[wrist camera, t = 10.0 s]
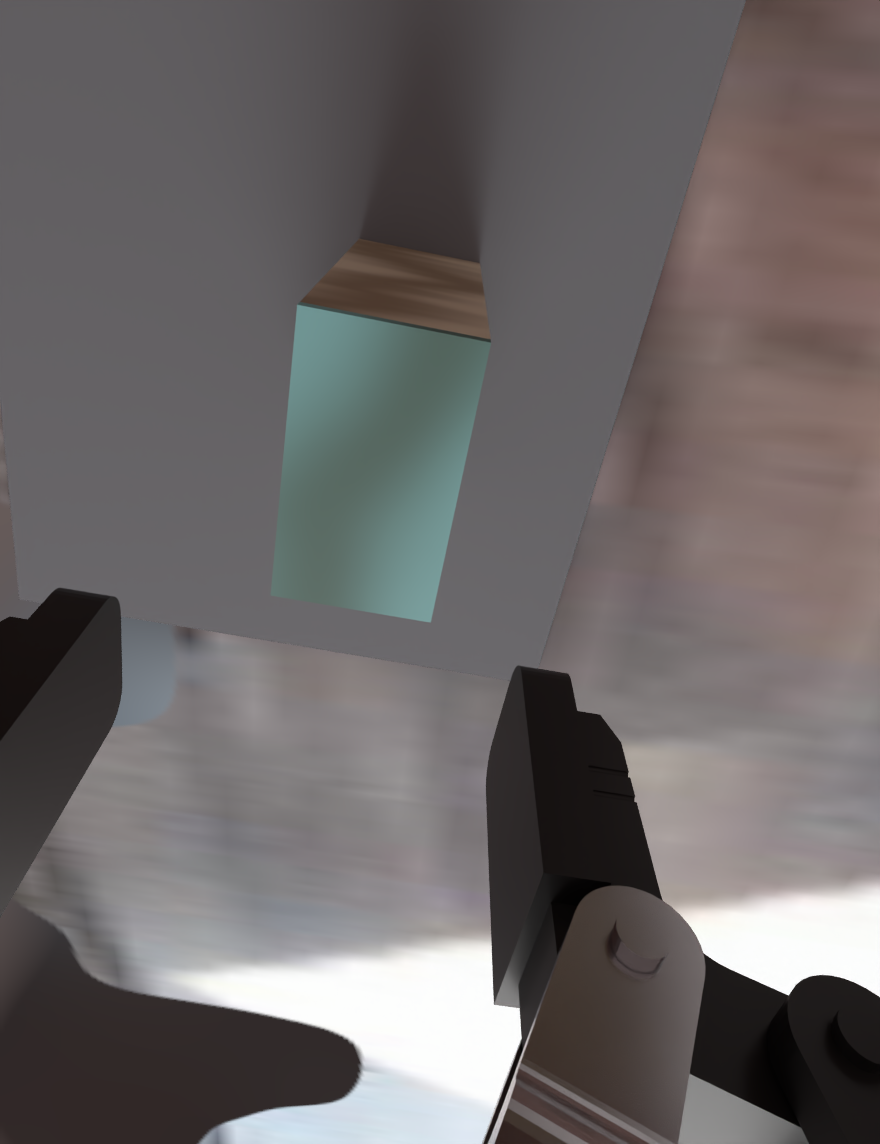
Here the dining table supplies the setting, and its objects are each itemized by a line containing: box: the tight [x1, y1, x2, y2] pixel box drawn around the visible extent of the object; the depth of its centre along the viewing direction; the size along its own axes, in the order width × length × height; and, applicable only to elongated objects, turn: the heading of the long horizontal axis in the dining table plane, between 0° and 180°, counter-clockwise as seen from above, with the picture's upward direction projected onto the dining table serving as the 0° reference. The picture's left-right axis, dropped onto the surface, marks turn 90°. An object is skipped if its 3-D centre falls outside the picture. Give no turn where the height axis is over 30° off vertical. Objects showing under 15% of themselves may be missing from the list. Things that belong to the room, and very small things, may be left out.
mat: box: [0, 0, 746, 681], centre depth 27 cm, size 22×26×1 cm
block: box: [271, 239, 491, 623], centre depth 22 cm, size 4×7×11 cm, turn 170°
